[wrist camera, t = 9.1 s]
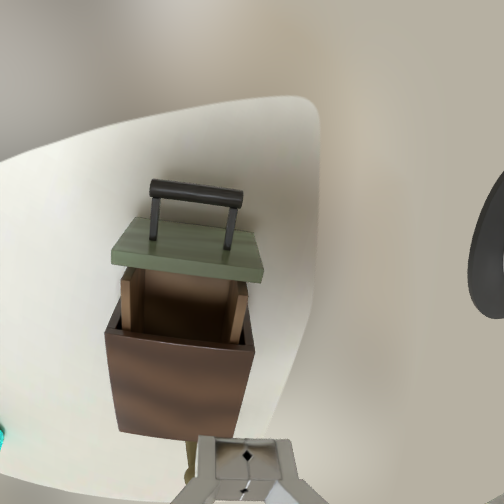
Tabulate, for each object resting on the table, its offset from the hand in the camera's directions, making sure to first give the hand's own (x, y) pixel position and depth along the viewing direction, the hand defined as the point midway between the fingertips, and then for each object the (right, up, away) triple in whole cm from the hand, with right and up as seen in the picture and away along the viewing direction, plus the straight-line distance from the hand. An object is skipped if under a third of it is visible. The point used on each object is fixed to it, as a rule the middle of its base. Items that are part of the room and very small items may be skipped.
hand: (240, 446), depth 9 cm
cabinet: (-8, -4, +27) cm, 29 cm away
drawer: (-6, +5, +23) cm, 24 cm away
